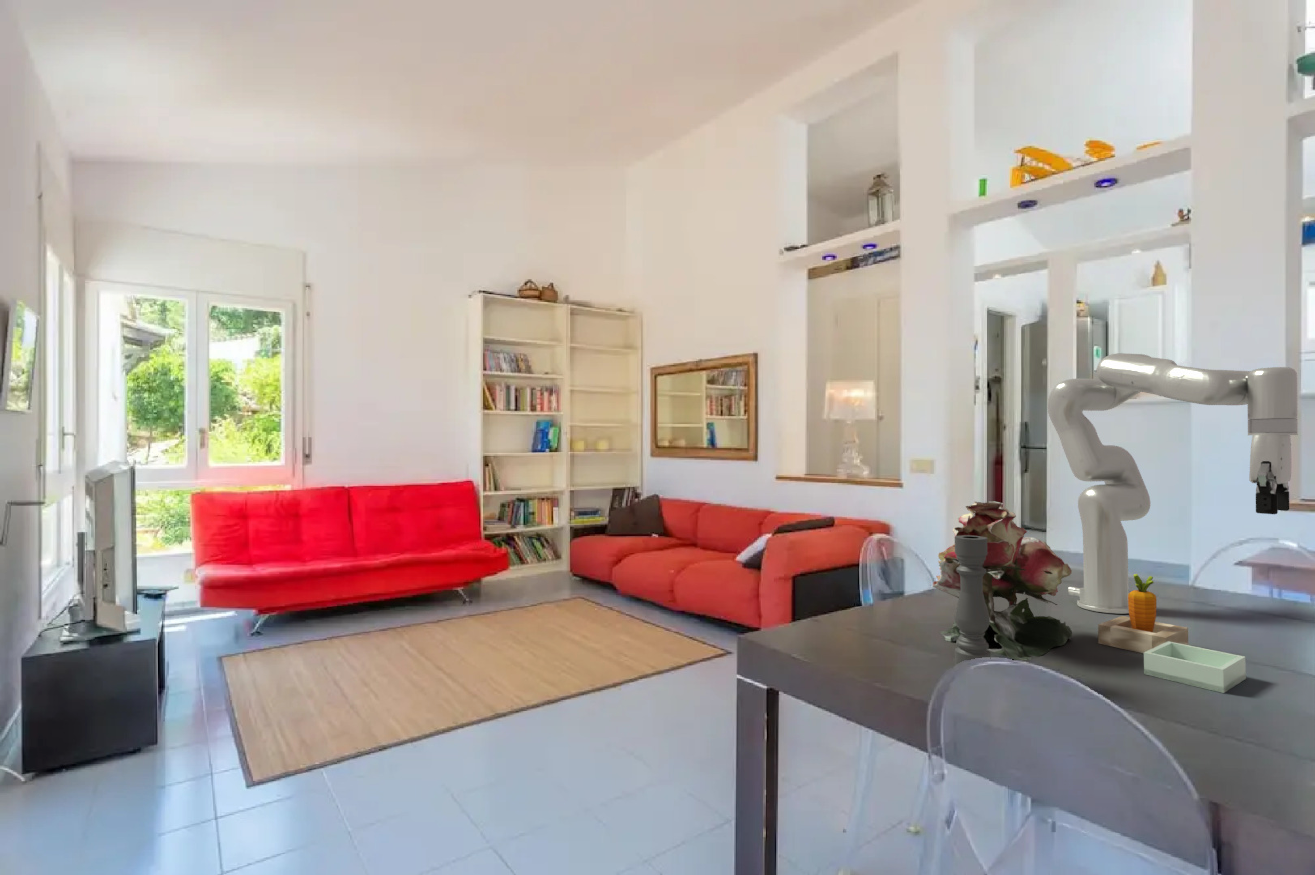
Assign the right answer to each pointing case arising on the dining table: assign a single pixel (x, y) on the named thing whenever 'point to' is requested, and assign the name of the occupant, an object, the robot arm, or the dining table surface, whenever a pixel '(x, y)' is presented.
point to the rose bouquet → (1009, 582)
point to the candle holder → (971, 598)
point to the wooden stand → (1139, 635)
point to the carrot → (1142, 606)
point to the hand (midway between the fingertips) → (1272, 511)
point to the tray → (1195, 666)
